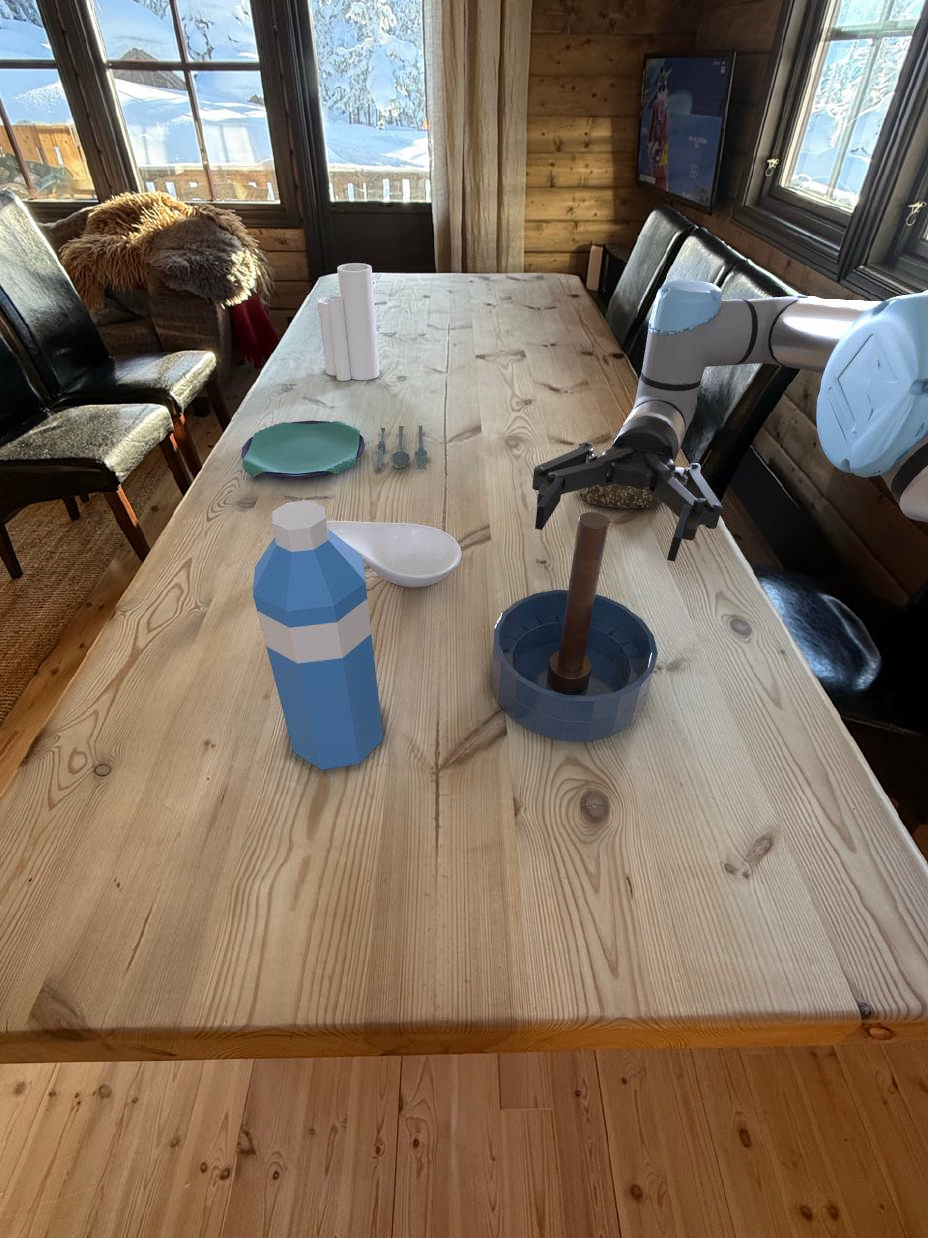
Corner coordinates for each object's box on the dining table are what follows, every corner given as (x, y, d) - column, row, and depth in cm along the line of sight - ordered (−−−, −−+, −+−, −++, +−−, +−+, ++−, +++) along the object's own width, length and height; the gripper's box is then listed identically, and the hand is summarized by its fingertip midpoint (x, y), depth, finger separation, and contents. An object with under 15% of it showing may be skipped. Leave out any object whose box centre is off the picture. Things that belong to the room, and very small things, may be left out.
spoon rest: (458, 546, 90) (459, 500, 85) (464, 600, 81) (464, 552, 76) (282, 551, 88) (273, 504, 84) (268, 607, 79) (257, 558, 75)
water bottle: (311, 690, 69) (266, 477, 53) (396, 704, 68) (378, 490, 52) (274, 761, 62) (209, 541, 46) (368, 778, 61) (336, 558, 45)
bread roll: (665, 515, 96) (672, 485, 93) (579, 509, 97) (584, 479, 94) (656, 473, 106) (663, 444, 102) (579, 467, 107) (583, 439, 103)
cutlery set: (255, 431, 116) (253, 418, 114) (426, 428, 117) (425, 416, 115) (231, 488, 101) (228, 475, 99) (427, 484, 102) (427, 471, 100)
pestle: (596, 678, 70) (628, 518, 57) (574, 702, 68) (603, 539, 54) (561, 659, 72) (585, 500, 59) (538, 682, 70) (558, 521, 57)
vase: (381, 368, 139) (373, 263, 126) (377, 381, 133) (369, 272, 120) (328, 367, 139) (315, 262, 126) (321, 380, 133) (307, 271, 120)
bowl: (671, 677, 71) (685, 633, 67) (593, 773, 62) (603, 728, 57) (546, 615, 79) (551, 571, 75) (460, 691, 69) (460, 646, 65)
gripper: (745, 493, 79) (724, 594, 64) (546, 453, 86) (486, 536, 71) (764, 434, 74) (746, 529, 59) (552, 397, 81) (489, 474, 67)
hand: (604, 533), depth 65 cm, fingers open, 13 cm apart
